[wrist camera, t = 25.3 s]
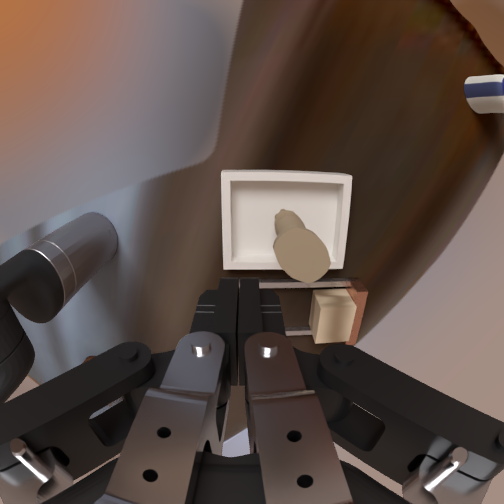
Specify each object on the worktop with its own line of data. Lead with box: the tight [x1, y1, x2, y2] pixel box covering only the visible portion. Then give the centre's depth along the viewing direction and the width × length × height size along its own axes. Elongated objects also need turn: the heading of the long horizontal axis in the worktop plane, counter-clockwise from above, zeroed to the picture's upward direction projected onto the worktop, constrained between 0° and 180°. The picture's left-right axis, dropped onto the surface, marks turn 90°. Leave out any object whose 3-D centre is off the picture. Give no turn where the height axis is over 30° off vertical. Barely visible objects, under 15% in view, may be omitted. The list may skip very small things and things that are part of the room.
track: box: [239, 278, 368, 345], centre depth 47 cm, size 24×11×5 cm, turn 90°
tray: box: [221, 170, 352, 269], centre depth 41 cm, size 18×14×3 cm
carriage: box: [309, 289, 357, 344], centre depth 46 cm, size 6×7×6 cm
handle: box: [273, 209, 331, 283], centre depth 35 cm, size 5×6×15 cm
